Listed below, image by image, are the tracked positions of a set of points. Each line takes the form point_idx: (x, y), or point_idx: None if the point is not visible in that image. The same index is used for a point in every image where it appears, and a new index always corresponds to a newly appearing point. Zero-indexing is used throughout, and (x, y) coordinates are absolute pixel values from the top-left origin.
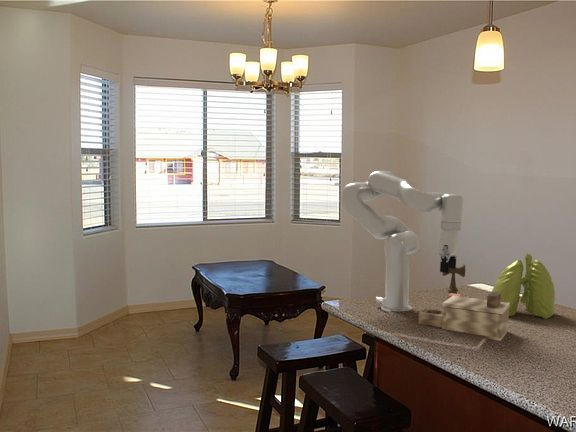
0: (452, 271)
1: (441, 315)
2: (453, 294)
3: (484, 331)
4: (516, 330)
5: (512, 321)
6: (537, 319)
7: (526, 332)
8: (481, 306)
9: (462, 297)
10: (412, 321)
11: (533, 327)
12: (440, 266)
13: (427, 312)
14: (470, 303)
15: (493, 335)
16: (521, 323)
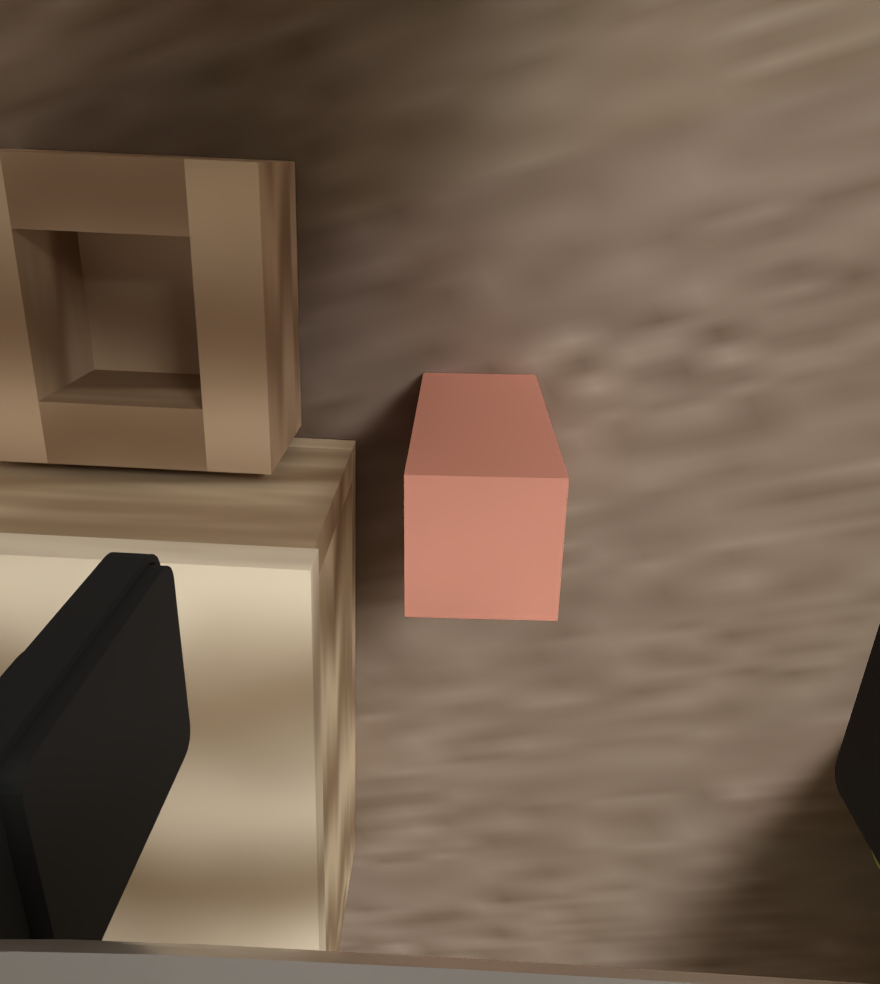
0: None
1: (12, 436)
2: (494, 534)
3: None
4: (426, 886)
5: (690, 845)
6: (837, 972)
7: (410, 937)
8: None
9: (278, 695)
10: (163, 14)
11: (576, 963)
12: (43, 644)
13: (91, 230)
14: None
15: None
16: (656, 898)
